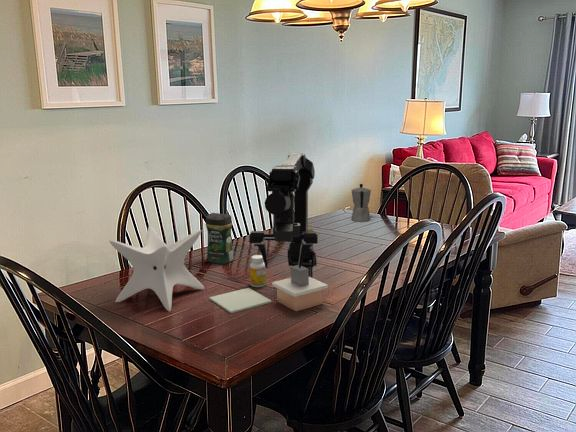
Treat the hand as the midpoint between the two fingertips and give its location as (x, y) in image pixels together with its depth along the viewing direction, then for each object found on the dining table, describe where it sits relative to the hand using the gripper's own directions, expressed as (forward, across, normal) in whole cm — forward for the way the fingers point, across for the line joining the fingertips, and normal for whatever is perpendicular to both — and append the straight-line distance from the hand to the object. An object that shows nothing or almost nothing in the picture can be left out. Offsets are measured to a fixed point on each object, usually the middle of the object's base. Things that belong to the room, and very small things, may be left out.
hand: (283, 268), depth 153 cm
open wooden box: (+13, +6, +12) cm, 18 cm away
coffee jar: (+8, -23, +56) cm, 61 cm away
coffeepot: (-3, +40, +116) cm, 122 cm away
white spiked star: (+13, -38, +21) cm, 45 cm away
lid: (+8, +5, +12) cm, 15 cm away
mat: (+13, -13, +15) cm, 23 cm away
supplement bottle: (+11, -8, +29) cm, 32 cm away
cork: (+6, +10, +61) cm, 62 cm away
